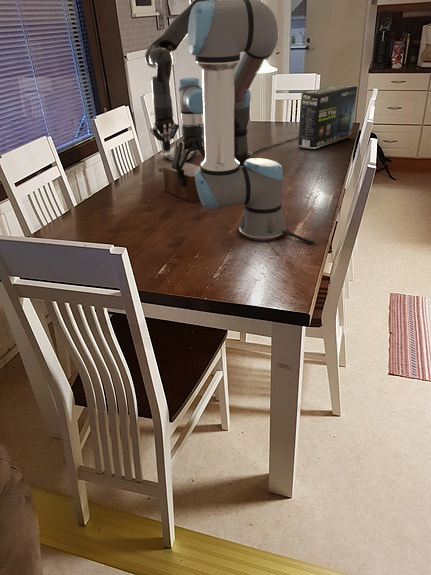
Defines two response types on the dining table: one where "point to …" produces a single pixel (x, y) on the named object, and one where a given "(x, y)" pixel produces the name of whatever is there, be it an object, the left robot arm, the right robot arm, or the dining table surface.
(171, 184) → the dark wooden box
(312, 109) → the router box
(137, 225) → the dining table surface
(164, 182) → the dark piece
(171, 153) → the fossil
